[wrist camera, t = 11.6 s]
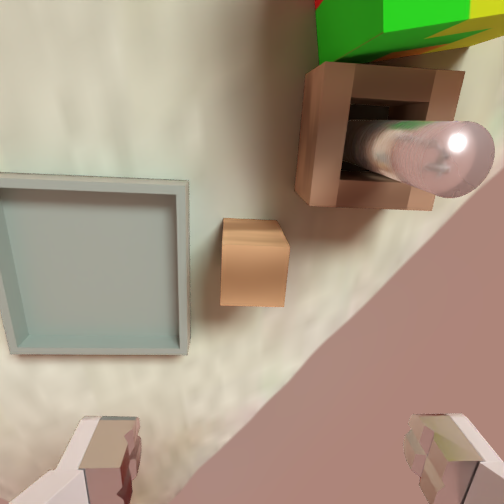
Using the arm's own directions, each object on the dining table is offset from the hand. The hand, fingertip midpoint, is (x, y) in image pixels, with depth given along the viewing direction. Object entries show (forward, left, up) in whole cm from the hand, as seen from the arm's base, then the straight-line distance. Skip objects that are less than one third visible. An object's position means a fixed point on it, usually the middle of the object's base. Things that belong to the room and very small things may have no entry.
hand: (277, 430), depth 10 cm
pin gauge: (-8, +7, -17) cm, 20 cm away
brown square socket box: (-8, +7, -17) cm, 20 cm away
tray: (+2, -11, -17) cm, 20 cm away
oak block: (0, 0, -17) cm, 17 cm away
